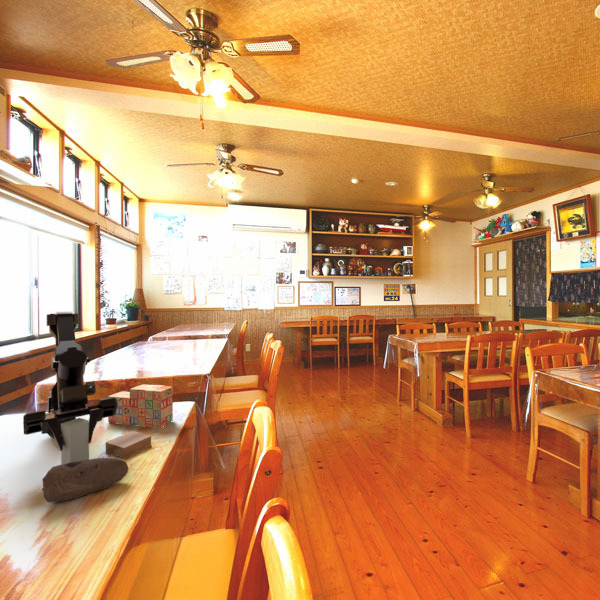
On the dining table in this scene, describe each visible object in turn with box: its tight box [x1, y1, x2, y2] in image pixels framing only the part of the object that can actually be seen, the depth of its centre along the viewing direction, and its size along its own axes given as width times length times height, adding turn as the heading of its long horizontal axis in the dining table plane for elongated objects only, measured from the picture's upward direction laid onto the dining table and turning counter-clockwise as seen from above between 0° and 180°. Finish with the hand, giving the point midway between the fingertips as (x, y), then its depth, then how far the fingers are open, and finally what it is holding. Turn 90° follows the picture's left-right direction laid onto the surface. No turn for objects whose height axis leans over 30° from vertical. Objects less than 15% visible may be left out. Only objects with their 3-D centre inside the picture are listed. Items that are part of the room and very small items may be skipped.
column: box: [60, 417, 90, 465], centre depth 74 cm, size 4×4×12 cm
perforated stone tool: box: [41, 457, 129, 503], centre depth 66 cm, size 15×5×7 cm, turn 121°
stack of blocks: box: [107, 384, 174, 429], centre depth 104 cm, size 21×6×12 cm, turn 76°
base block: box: [105, 430, 152, 459], centre depth 85 cm, size 8×8×3 cm
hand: (75, 446), depth 73 cm, fingers closed on column, 5 cm apart
